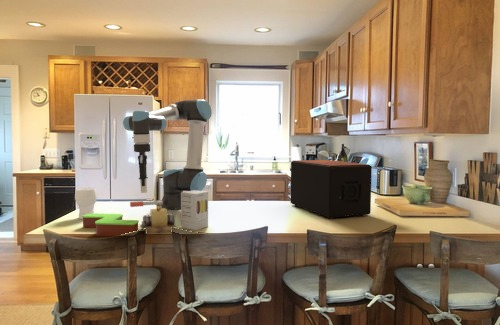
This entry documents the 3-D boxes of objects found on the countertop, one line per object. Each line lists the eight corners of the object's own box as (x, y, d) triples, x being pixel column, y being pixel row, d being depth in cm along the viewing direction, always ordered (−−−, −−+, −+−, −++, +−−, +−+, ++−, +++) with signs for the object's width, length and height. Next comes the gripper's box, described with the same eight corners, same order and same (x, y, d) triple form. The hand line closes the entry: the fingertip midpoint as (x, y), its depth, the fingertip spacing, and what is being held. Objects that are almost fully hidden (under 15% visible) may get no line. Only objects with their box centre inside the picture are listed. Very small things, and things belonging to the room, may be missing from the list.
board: (171, 222, 181) (170, 219, 181) (177, 231, 163) (177, 228, 163) (141, 224, 177) (141, 221, 176) (145, 234, 158) (145, 231, 158)
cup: (89, 220, 185) (88, 190, 184) (70, 219, 187) (70, 190, 186) (101, 215, 195) (101, 188, 194) (84, 215, 197) (83, 187, 196)
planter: (66, 235, 157) (66, 222, 157) (88, 225, 175) (88, 213, 175) (134, 237, 155) (133, 223, 154) (149, 227, 173) (149, 214, 172)
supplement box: (195, 230, 165) (195, 193, 164) (180, 227, 170) (180, 192, 169) (208, 226, 173) (208, 191, 172) (193, 223, 178) (193, 189, 177)
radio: (372, 216, 196) (373, 164, 194) (329, 220, 187) (330, 165, 185) (326, 202, 238) (327, 159, 236) (289, 205, 229) (290, 160, 227)
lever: (161, 203, 171) (161, 199, 171) (163, 204, 168) (163, 201, 168) (130, 205, 166) (129, 201, 166) (130, 207, 162) (130, 203, 162)
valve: (173, 222, 175) (172, 202, 174) (175, 225, 169) (174, 204, 169) (142, 225, 170) (142, 204, 169) (143, 228, 164) (143, 206, 164)
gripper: (135, 143, 179) (137, 190, 181) (131, 144, 166) (134, 195, 169) (151, 142, 180) (152, 189, 183) (148, 144, 168) (150, 194, 170)
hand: (143, 192), depth 176 cm, fingers closed
